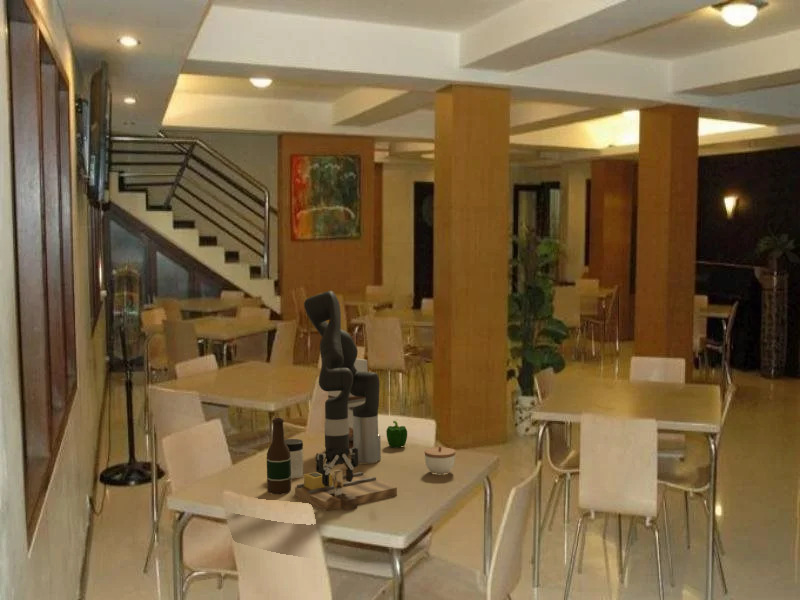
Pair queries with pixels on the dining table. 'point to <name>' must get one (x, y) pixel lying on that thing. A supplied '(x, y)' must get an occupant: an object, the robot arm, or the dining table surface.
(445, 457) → the lidded jar
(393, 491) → the subfloor panel
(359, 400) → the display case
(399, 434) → the bell pepper
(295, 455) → the jar
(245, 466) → the dining table surface
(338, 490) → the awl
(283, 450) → the beer bottle
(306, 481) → the stud finder
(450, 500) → the dining table surface
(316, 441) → the dining table surface
